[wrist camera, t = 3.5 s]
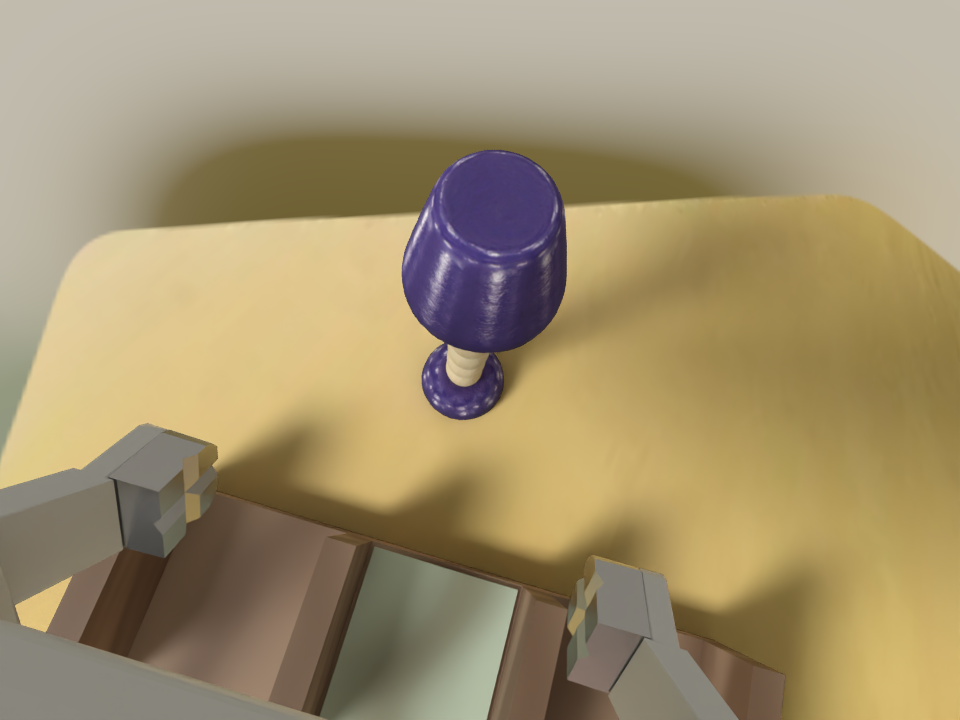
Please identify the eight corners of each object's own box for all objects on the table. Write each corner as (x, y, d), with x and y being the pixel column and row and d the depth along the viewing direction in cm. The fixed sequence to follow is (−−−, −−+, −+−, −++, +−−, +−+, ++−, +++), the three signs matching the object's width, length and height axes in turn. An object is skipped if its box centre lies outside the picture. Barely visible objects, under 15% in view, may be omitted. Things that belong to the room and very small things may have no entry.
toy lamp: (505, 334, 28) (573, 99, 12) (522, 419, 27) (623, 281, 11) (416, 347, 28) (365, 121, 12) (429, 434, 27) (392, 314, 11)
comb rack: (713, 640, 24) (785, 675, 19) (685, 843, 22) (758, 945, 17) (190, 483, 25) (120, 474, 20) (111, 663, 23) (10, 707, 18)
